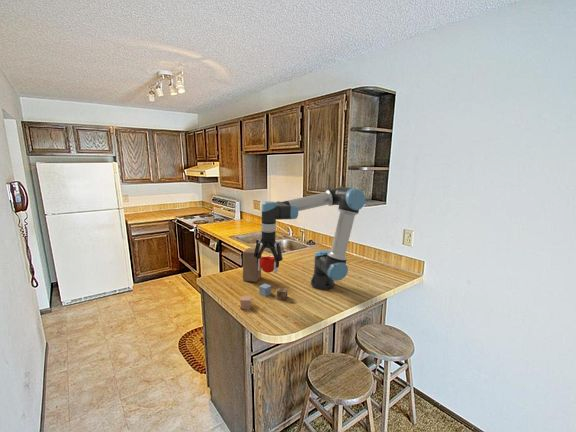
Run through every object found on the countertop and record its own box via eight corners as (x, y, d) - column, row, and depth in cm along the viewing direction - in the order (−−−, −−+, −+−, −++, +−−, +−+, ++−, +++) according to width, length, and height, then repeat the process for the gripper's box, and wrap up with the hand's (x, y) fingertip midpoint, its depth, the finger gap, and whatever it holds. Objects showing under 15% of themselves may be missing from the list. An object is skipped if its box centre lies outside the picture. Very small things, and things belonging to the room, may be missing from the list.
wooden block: (256, 282, 177) (257, 253, 174) (242, 281, 179) (242, 251, 176) (261, 276, 187) (261, 248, 183) (247, 275, 189) (247, 247, 185)
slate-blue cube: (271, 293, 163) (271, 285, 162) (265, 296, 159) (265, 288, 158) (264, 291, 166) (265, 283, 165) (259, 293, 162) (259, 286, 161)
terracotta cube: (251, 304, 150) (251, 295, 149) (249, 309, 145) (250, 300, 144) (241, 304, 150) (241, 295, 149) (240, 308, 145) (240, 300, 144)
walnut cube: (287, 296, 160) (287, 288, 159) (285, 300, 155) (285, 292, 154) (278, 295, 161) (279, 287, 160) (276, 299, 156) (276, 291, 156)
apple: (256, 273, 146) (256, 259, 145) (263, 267, 155) (264, 254, 153) (271, 275, 143) (272, 261, 142) (278, 270, 152) (278, 256, 150)
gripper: (290, 231, 144) (288, 272, 148) (254, 227, 153) (254, 265, 156) (284, 234, 137) (282, 277, 141) (247, 229, 146) (246, 269, 150)
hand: (267, 271), depth 149 cm, fingers closed on apple, 9 cm apart
